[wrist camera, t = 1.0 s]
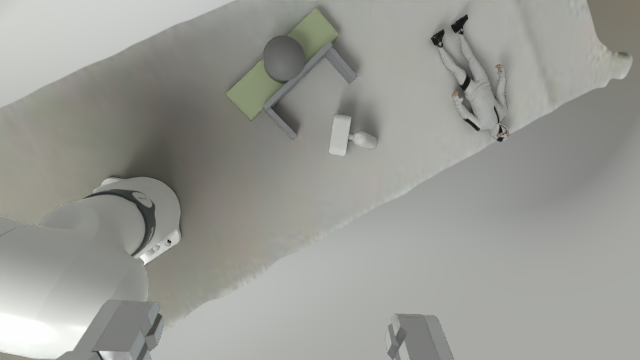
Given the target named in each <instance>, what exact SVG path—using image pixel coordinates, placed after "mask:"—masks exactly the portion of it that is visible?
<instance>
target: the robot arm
mask: <svg viewBox="0 0 640 360" xmlns="http://www.w3.org/2000/svg"><path fill="white" fill-rule="evenodd" d="M180 215H181V209H180V204H179V201H178V198H177V196H176V195H175V193H174V192H173V191H172V189H171V188H170V187H168V186H167V185H166V184H164V183H163V182H161V181H159V180H156V179H153V178H149V177H135V178H129V179H121V178H114V177H110V178H107V179H105V180H104V181H103V182H102V184H101V185H100V186H99V187H97V188H95V189H94V190H93V194H92V195H89V196H87V197H85V198H84V199H81V200H77V201H74V202H70V203H66V204H63V205H61V206H58V207H56V208H55V209H53V210H52V211H51V212H49V213H48V214H47V215H46V216H45V217H44V218H43V220H42V221H41V222H40V223H39V225H36V224H29V223H25V222H22V221H18V220H15V219H11V218H8V217H4V216H0V352H4V353H9V354H14V355H19V356H24V357H29V358H34V359H56V360H151V356H150V351H151V350H152V349H153V348H155V347H156V346H157V345H158V342H159V340H160V337H161V334H162V330H163V316H162V315H161V314H159V313H158V312H159V310H160V306H159V303H158V302H147V298H148V290H149V285H148V276H147V273H146V270H145V267H144V265H145V264H147V263H148V262H150V261H151V260H153V259H154V258H156V257H157V256H159V255H160V254H162V253H163V252H165V251H166V250H168V249H169V248H171V247H172V246H174V245H175V244H177V243H178V242H179V241H180V240H181V232H180V229H179V221H180ZM168 240H171V243H169V242H168ZM391 321H392V324H390V325H389V326H388V327H387V330H386V334H385V343H386V349H387V353H388V355H389V356H390V357H391V358H392V360H454V358H453V355H452V353H451V350H450V348H449V345H448V342H447V340H446V337H445V335H444V332H443V330H442V328H441V325H440V322H439V320H438V318H437V317H436V316H434V315H420V314H394V315H393V316H392V318H391Z"/></svg>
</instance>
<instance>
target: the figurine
mask: <svg viewBox="0 0 640 360" xmlns="http://www.w3.org/2000/svg"><path fill="white" fill-rule="evenodd" d="M467 19H468V16H467V15H465V16H463V17H462V18H460V19H459V20H457V21H456V23H454V24H453V25H451V27H452V29H453V31H454V32H455V33H457V34H458V36H459V39H460V44H461V52H462V54H463V55H464V56H465V58H466V59H467V60H468V64H469V68H470V70H471V72H472V75H473V79H474V81H473V80H472V79H471V78H470V77H468V75H467V74H466V72H465V71H464V69H463V70H462V68H461V67H458V66H457V65H456V64H455V62H454V60H453V58H452V57H451V56H449V55H448V54H447V52H446V51H445V49H444V48H443V43H442V37H443V35H444V34H445V33H444V29H443V30H441V31H440V32H438V33H436V34H435V35H434V36H433V37H432V38H431V39H432V41H433V43H434V45H435V46H437V47H438V49H439V52H440V55H441V58H442V61H443V63H444V65H445V66H446V67H447V68H448V69H450V70H451V71H453V72H454V73H455V75H454V76H455V77H456V79H457V81H458V83H459V85H460V86H461V88H462V90H463V91H464V93H465V97H466V98H467V99H468V101H469V102H470V104H471V107H472V111H473V113H474V115H473V114H472V113H471V112H469V111H468V110H467V109H466V107H464V105H463V104H462V101H463V98H459V97H458V92H459V91H454V93H453V94H452V99H453V102H454V103H455V106H456V109H457V111H458V112H459V113H460V115H461V116H462V117H463V119H464V120H465V121H466V122H468V123H469V124H470V125H471V126H473V127H474V128H475V129H476V130H477V131H482V130H491V131H490V134H491V135H492V136H493V137H494V138H495V139H496V140H498V141H500V142H503V141H505V140H507V139H508V137H509V130H508V128H507V126H505V125H503V124H501V121H502V120H503V118H504V117H505V116H506V115H507V113H508V108H507V105H506V100H505V95H504V92H505V83H506V81H507V80H506V76H505V69H504V67H503V66H502V65H500V64H499V65H496V66H495V67H497V68H498V72H497V73H498V74H499V80H498V84H497V87H496V96H495V97H494V95H493V92H492V90H491V88H492V87H491V86H490V84H491V83H490V82H489V80H488V77H487V75H486V72H485V70H484V69H483V67H482V66H481V64H480V63H479V62H478V60H477V59H476V58H475V57H474V54H473V52H472V50H471V48H470V46H469V44H468V43H467V41H466V40H465V38H464V36H463V30H462V29H463V25H464V24H465V22H466V21H467Z"/></svg>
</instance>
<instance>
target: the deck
mask: <svg viewBox="0 0 640 360" xmlns="http://www.w3.org/2000/svg"><path fill="white" fill-rule="evenodd" d="M338 35H339V34H338V32H337V31H336V30H335V29H334V28H333V27H332V25H331V24H330V23H329V22H328V21H327V20H326V18H325V17H324V16H323V15H322V14H321V13H320V11H319V10H318V9H317V8H315V9H314V10H313V11H312V12H311V13H310V14H309V15H308V16H306V17H305V18H304V19H303V20H302V21H301V22H300V23H299V24H298V25H297V26H296V27H295V28H294V29H293V30H292V31H291V32H290V33H289V34H288V35H287V36H278V37H275V38H273V39H272V40H270V41H269V42H268V44H267V45H266V47H265V50H264V58H263V59H262V60H260V61H259V62H258V63H257V64H256V65H255V66H254V67H253V68H252V69H251V70H250V71H249V72H248V73H247V74H246V75H245V76H244V77H243V78H242V79H241V80H240V81H239V82H237V83H236V84H235V85H234V86H233V87H232V88H231V89H230V90H229V91H228V92H227V93H226V96H227V97H228V98H229V99H230V100H231V101H232V102H233V103H234V104H235V105H236V106H237V107H238V108H239V109H240V110H241V111H242V112H243V113H244V114H245V115H246V116H247V117H248V118H249V119H250V120H251V121H252V120H253V119H254V118H255V117H256V116H257V115H258V114H259V113H260V112H261V111H262V110H264V111H265V112H266V113H267V114H268V115H269V116H270V117H271V118H272V119H273V120H274V121H275V122H276V123H277V124H278V126H279V127H280V128H281V129H282V130H283V131H284V132H285V133H286V134H287V135H288V136H289V137H290V138H291V139H292V140H294V139H295V138H296V137H297V135H296V134H295V133H294V132H293V131H292V129H291V128H290V127H289V126H288V125H287V124H286V123H285V122H284V121H283V120H282V119H281V118H280V117H279V116H278V115H277V114H276V113H275V112H274V111H273V110H272V109H271V108H272V107H273V106H274V105H275V104H276V103H277V102H278V101H279V100H280V99H281V98H282V97H283V96H284V95H286V94H287V93H288V92H289V91H290V90H291V89H292V88H293V87H294V86H295V85H296V84H297V83H298V82H299V81H300V80H301V79H302V78H303V77H304V76H305V75H306V74H307V73H308V72H309V71H310V70H311V69H312V68H313V67H314V66H315V65H316V64H317V63H318V62H319V61H320V60H321V59H323V58H324V57H326V58H327V59H328V60H329V61H330V62H331V64H332V65H333V66H334V67H335V68H336V69H337V70H338V71H339V73H340V74H341V75H342V76H343V77H344V78H345V79H346V81H347V82H348V83H349V84H350V83H351V82H352V81H353V80H355V79H356V78H357V77H358V76H357V75H356V74H355V72H354V71H353V70H352V69H351V68H350V67H349V66H348V64H347V63H346V62H345V61H344V60H343V59H342V57H341V56H340V55H339V54H338V53H337V52H336V51H335V49H334V48H333V47H332V46H333V44H332V42H333V41H334V40H335V39H336V38H337V36H338Z"/></svg>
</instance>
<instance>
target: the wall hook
mask: <svg viewBox="0 0 640 360" xmlns="http://www.w3.org/2000/svg"><path fill="white" fill-rule="evenodd" d="M350 122H351V116H347V115H340V114H334V120H333V126H332V133H331V140H330V147H329V154H332V155H339V156H345V155H346V149H347V142H348V140H353V141H354V143H355V144H356V145H358V146H361V147H364V148H367V149H374V148H375V147H376V146H377V143H378V142H377V139H376V138H375V137H374V136H372V135H370V134H368V133H366V132H363V131H357V132H356V133H355V134H349V129H350Z"/></svg>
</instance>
